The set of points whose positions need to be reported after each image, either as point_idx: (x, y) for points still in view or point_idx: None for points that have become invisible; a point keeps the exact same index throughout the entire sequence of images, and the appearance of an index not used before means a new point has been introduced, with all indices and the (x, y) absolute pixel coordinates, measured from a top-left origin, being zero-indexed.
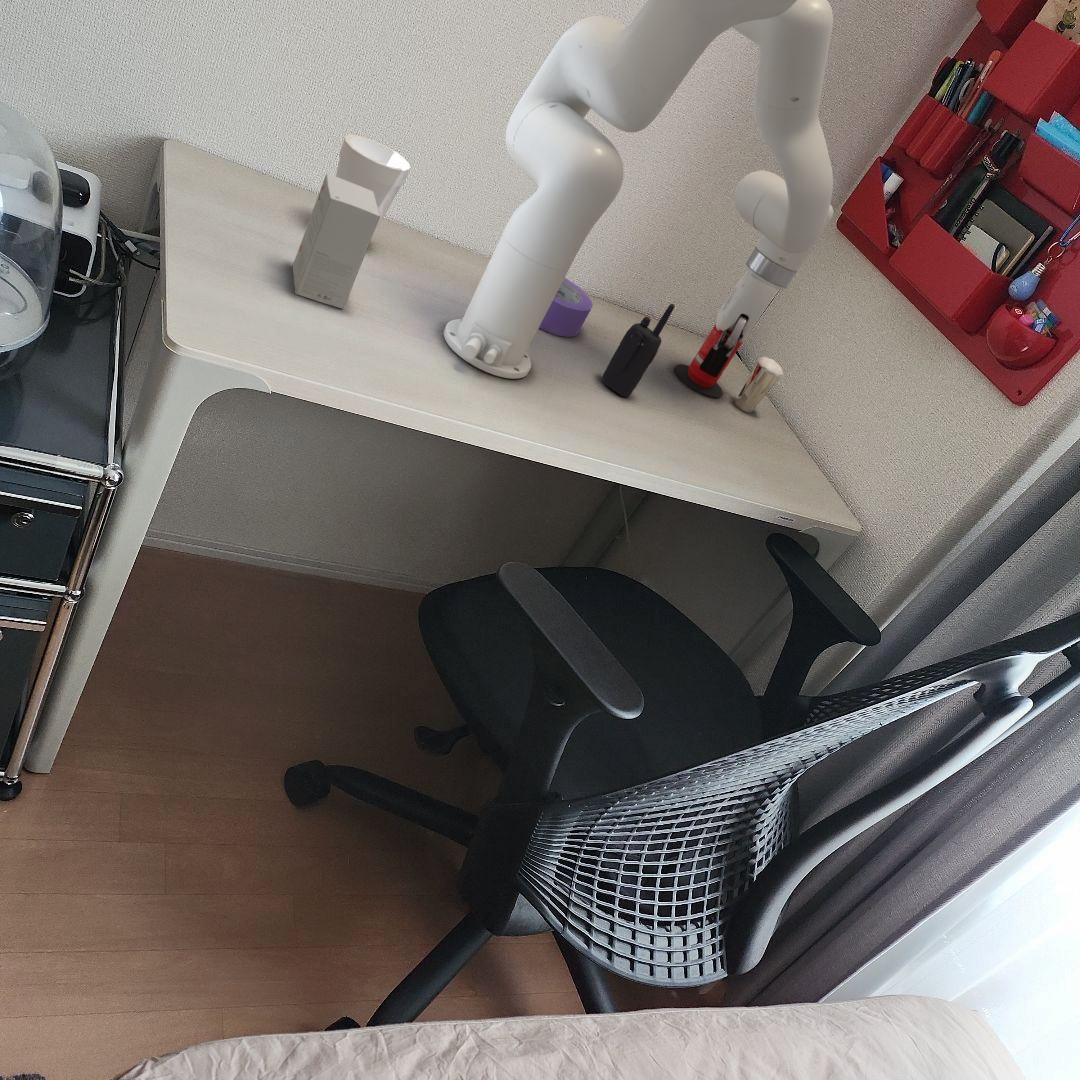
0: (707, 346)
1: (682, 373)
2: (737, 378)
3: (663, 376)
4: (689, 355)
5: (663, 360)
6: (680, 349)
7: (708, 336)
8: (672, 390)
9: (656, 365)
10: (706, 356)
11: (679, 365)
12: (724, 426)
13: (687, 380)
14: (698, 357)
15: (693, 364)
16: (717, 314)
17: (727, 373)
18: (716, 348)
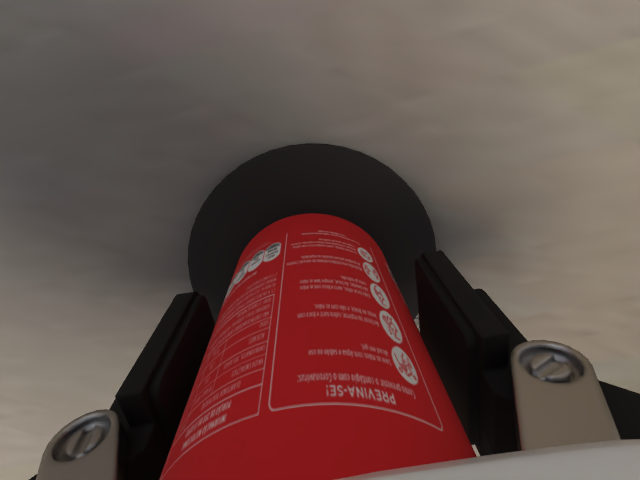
0: (219, 336)
1: (264, 196)
2: (616, 365)
3: (109, 130)
4: (596, 157)
5: (316, 70)
6: (616, 99)
7: (266, 339)
8: (28, 208)
9: (184, 59)
10: (147, 343)
11: (344, 158)
12: (67, 422)
13: (221, 234)
14: (249, 268)
15: (258, 243)
16: (614, 448)
17: (615, 329)
18: (58, 452)
